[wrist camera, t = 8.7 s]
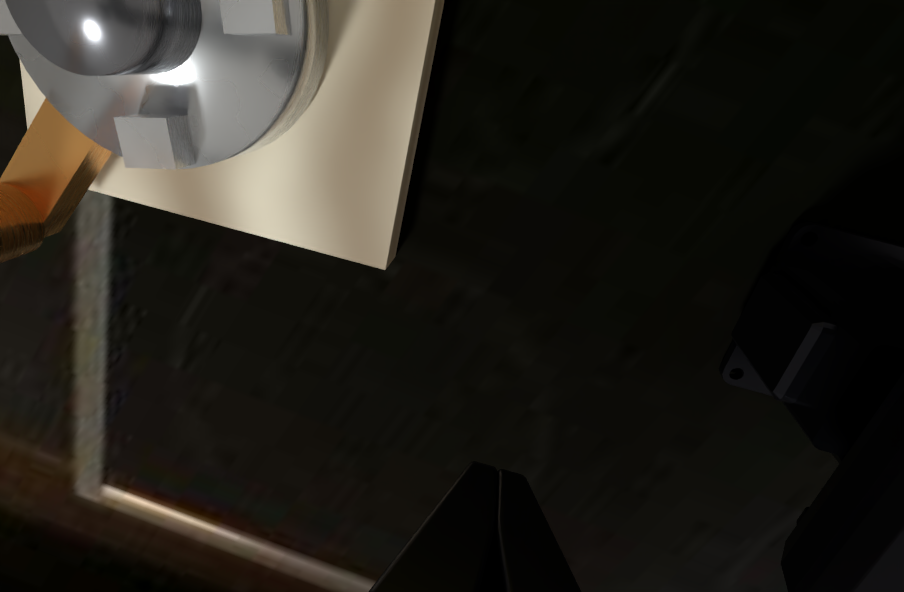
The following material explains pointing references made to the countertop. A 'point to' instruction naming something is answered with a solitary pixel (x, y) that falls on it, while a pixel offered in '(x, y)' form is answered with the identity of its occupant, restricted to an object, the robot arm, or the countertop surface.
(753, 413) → the countertop surface
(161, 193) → the flange board
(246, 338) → the countertop surface
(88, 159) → the disc with rod
